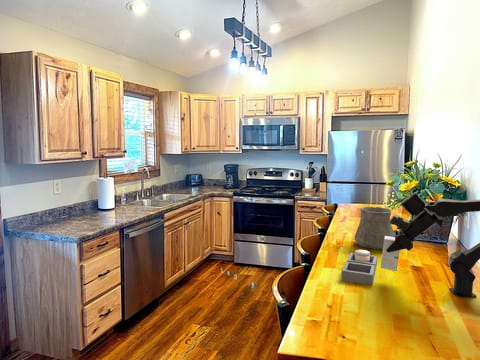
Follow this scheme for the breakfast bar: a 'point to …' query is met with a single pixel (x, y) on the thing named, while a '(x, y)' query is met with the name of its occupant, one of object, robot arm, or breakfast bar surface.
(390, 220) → the robot arm
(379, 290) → the breakfast bar surface
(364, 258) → the bottle caddy
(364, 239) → the vessel
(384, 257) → the skincare box
